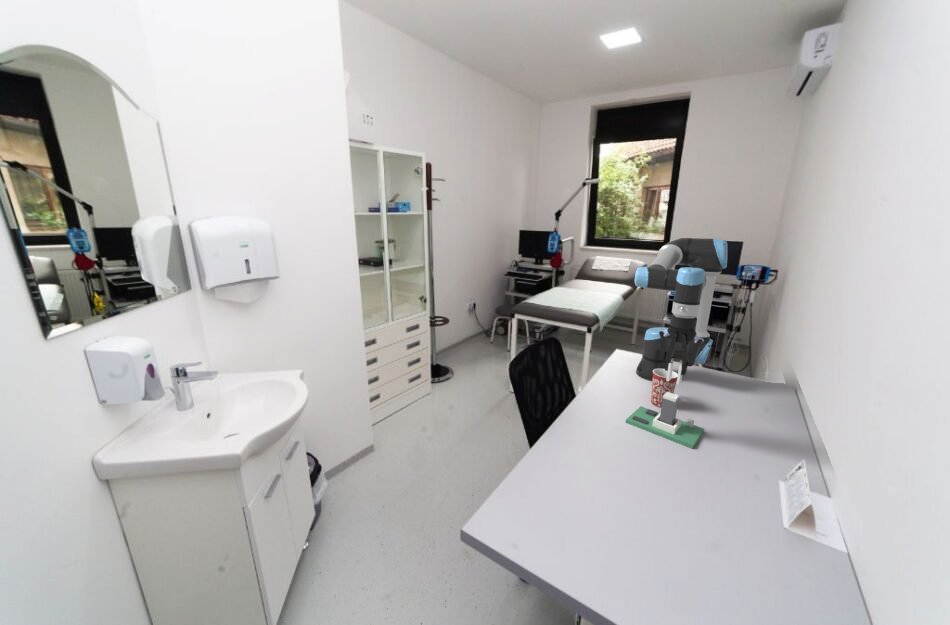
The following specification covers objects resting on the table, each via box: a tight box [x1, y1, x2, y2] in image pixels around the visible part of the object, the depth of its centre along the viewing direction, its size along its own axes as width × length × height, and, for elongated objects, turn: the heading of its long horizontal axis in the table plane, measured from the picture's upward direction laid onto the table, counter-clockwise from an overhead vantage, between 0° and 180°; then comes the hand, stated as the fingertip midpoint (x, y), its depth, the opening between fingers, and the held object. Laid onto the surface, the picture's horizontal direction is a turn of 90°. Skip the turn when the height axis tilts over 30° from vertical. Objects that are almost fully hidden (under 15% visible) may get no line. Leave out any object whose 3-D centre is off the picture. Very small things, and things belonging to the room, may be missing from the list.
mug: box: [650, 369, 678, 408], centre depth 147 cm, size 13×9×14 cm
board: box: [625, 405, 705, 449], centre depth 131 cm, size 14×22×4 cm, turn 46°
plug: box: [659, 392, 680, 426], centre depth 128 cm, size 4×4×12 cm
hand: (673, 381), depth 125 cm, fingers open, 3 cm apart
